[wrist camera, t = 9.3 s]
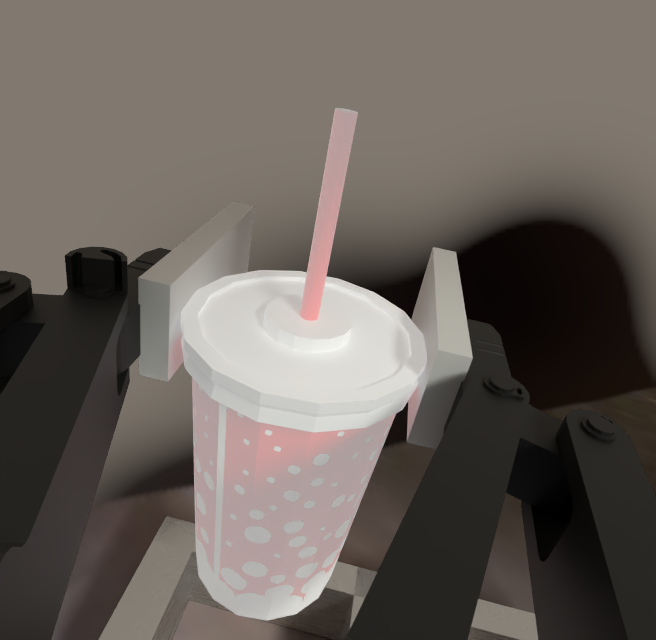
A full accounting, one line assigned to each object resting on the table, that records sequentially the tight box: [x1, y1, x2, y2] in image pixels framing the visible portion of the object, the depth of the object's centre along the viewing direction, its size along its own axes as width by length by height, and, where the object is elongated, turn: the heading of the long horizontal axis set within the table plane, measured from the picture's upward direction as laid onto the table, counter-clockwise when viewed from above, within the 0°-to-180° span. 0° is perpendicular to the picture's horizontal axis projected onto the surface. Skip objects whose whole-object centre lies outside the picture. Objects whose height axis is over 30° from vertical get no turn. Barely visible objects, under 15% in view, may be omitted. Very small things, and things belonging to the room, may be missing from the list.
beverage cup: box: [181, 108, 427, 620], centre depth 14 cm, size 6×6×14 cm
